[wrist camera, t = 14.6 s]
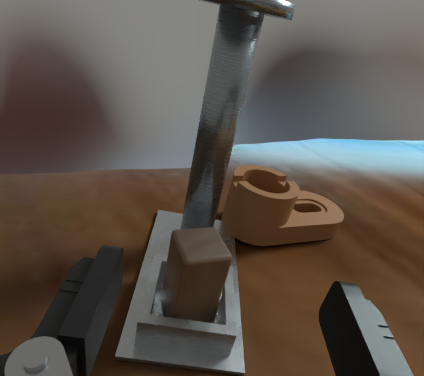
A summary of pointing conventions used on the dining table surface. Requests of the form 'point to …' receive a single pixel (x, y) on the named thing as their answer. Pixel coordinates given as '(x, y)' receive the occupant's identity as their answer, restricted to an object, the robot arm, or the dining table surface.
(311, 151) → the dining table surface
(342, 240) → the dining table surface
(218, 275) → the wooden block
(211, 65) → the metal post stand
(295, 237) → the bracket
